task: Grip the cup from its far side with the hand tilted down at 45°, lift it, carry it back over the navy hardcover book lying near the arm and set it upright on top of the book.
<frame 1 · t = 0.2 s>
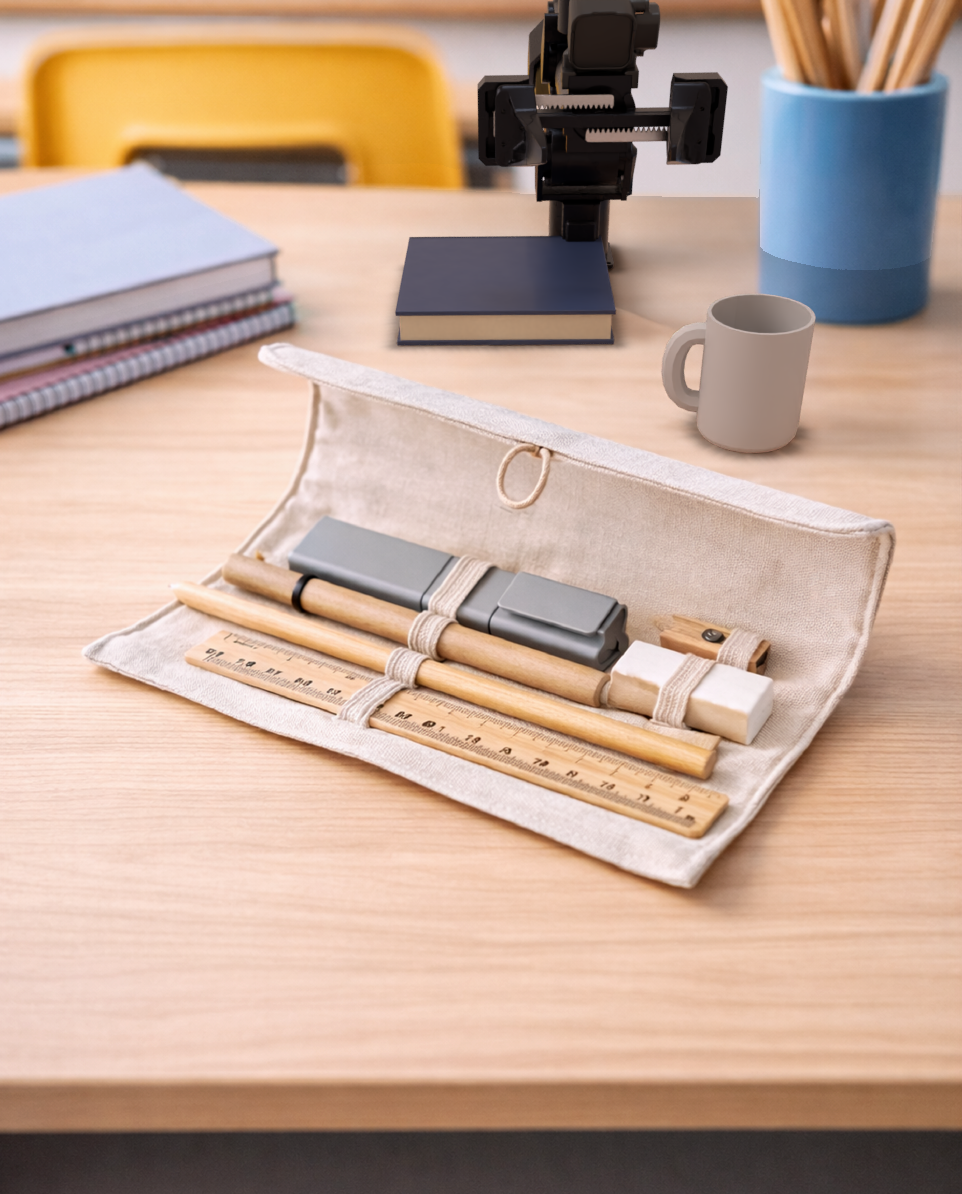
hand: (609, 154, 85), 17 cm above the table, tool horizontal, fingers open, 9 cm apart
cup: (726, 431, 87), on the table
book: (505, 303, 106), on the table
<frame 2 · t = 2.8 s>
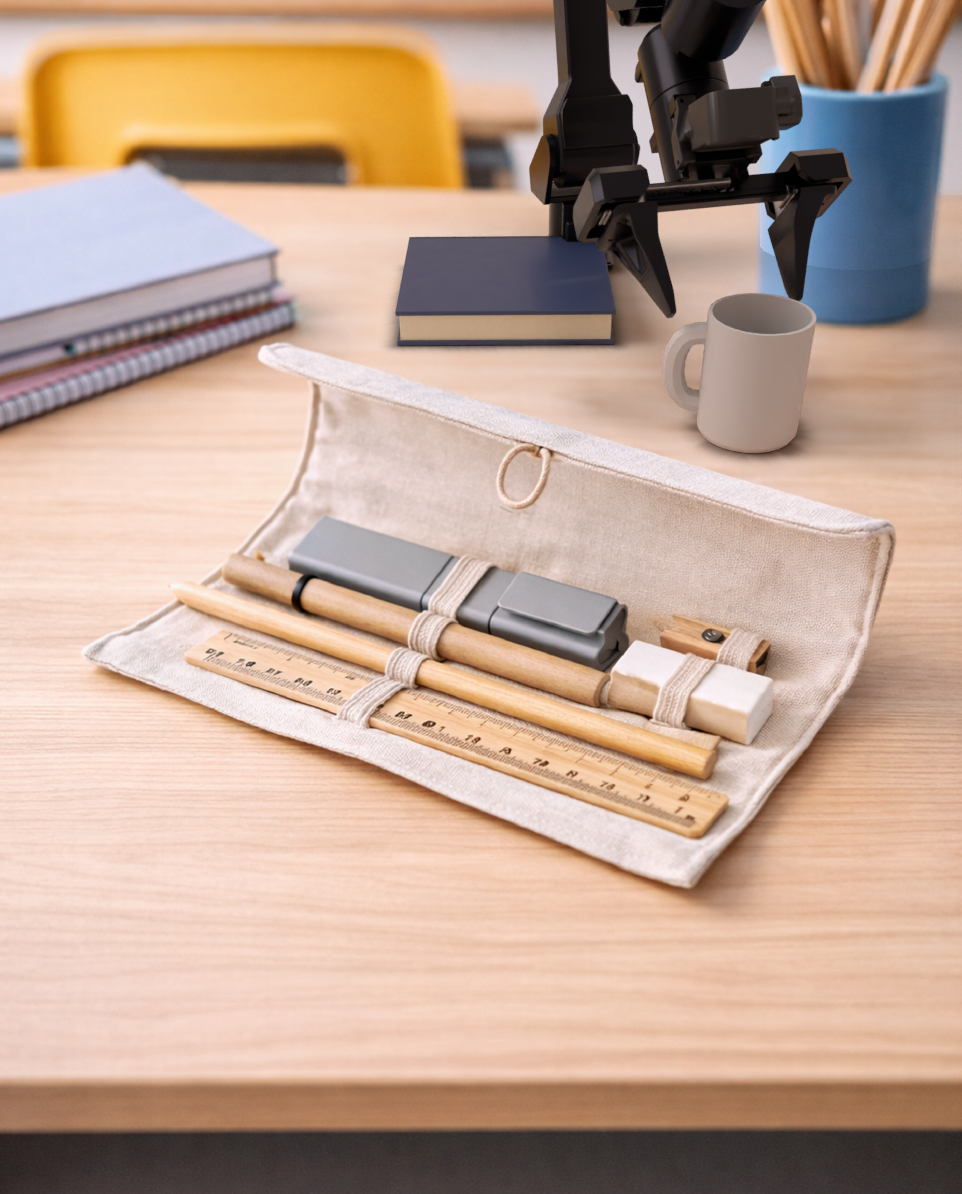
hand: (735, 308, 82), 9 cm above the table, tool tilted 45°, fingers open, 9 cm apart
cup: (726, 431, 87), on the table, touching gripper
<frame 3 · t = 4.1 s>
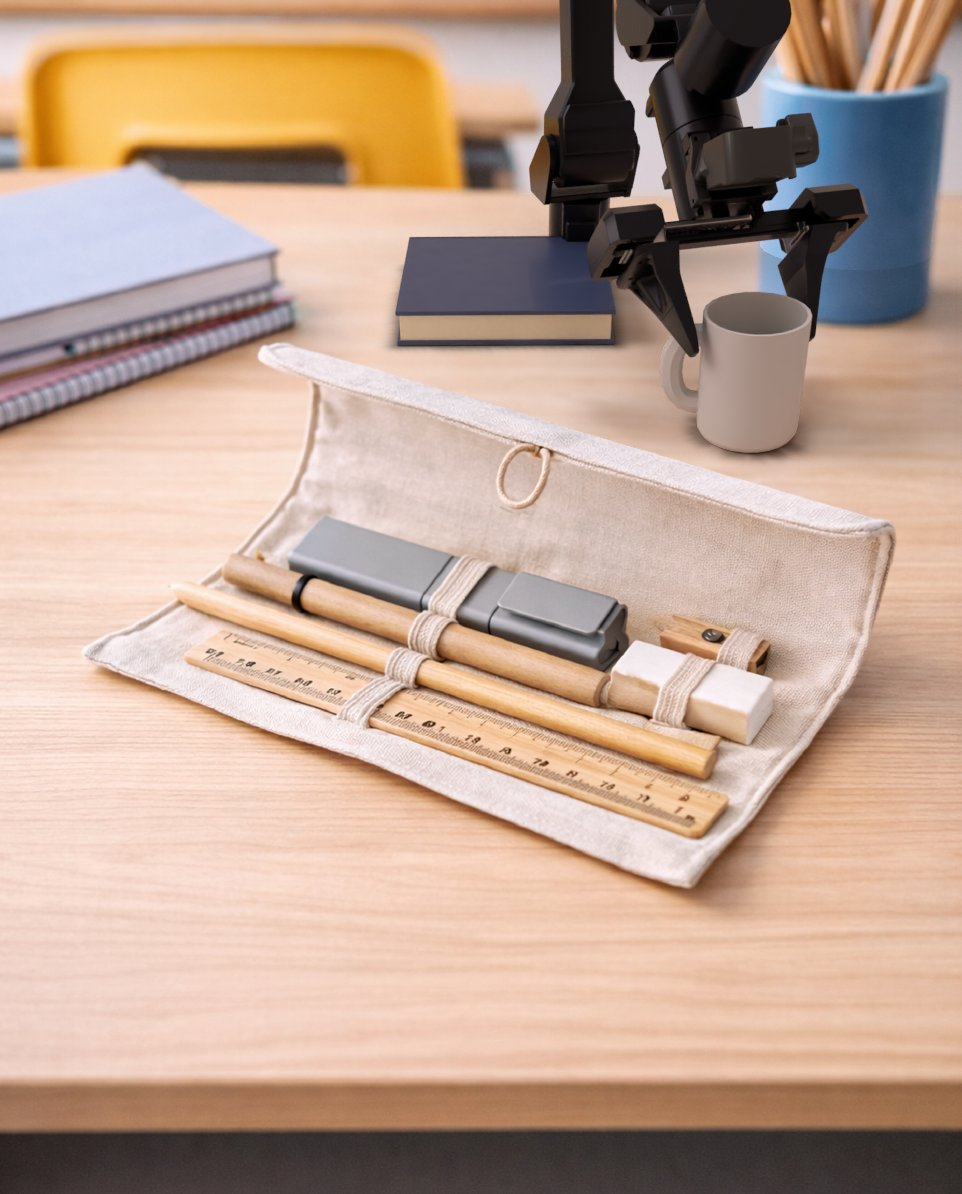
hand: (752, 347, 81), 7 cm above the table, tool tilted 45°, fingers closed on cup, 8 cm apart
cup: (726, 430, 86), on the table, touching gripper
when the fingers open (10 cm above the table, at t = 10.5 s): cup stays where it is, resting on book.
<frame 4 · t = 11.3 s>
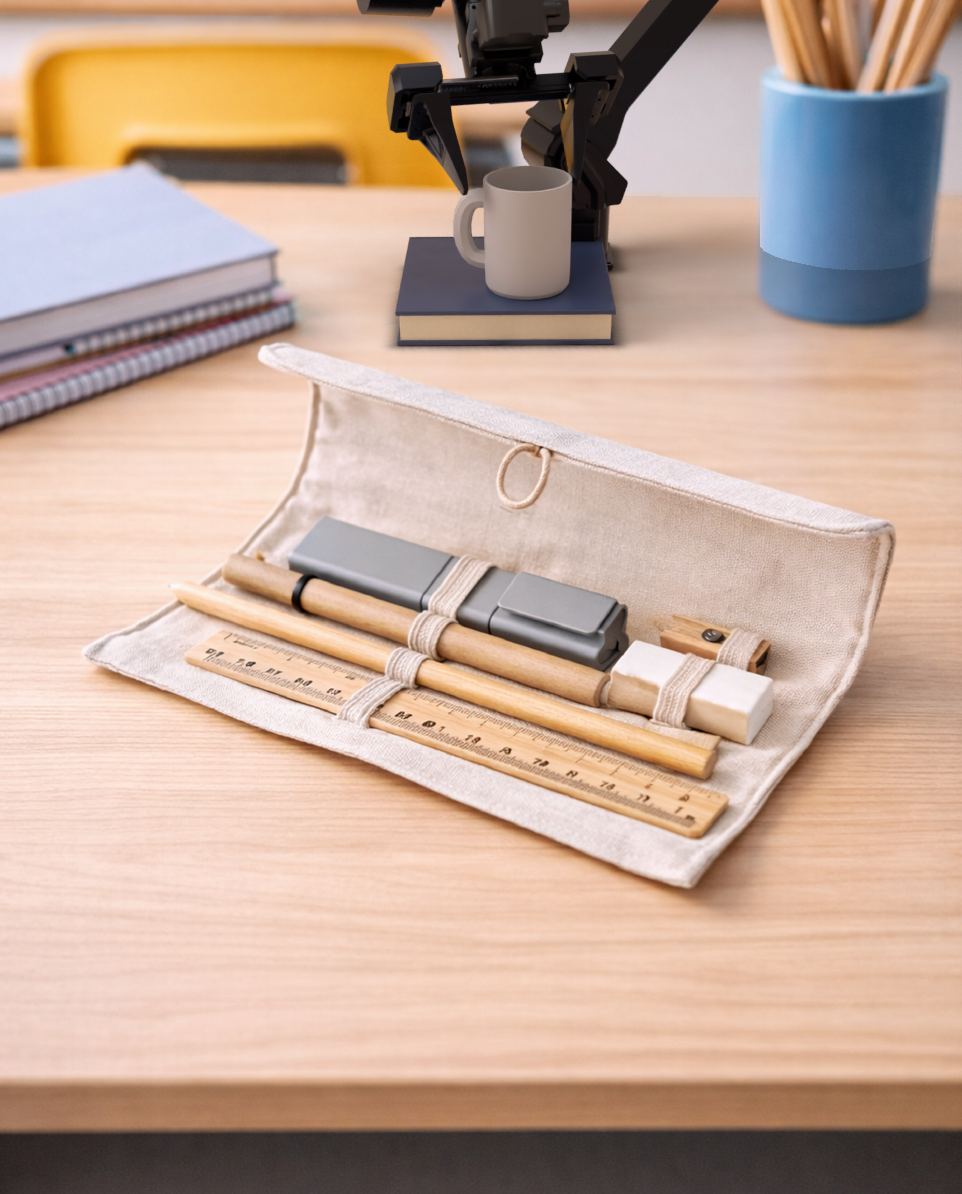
hand: (521, 188, 95), 12 cm above the table, tool tilted 45°, fingers open, 9 cm apart
cup: (511, 286, 102), point 3 cm above the table, touching book, gripper
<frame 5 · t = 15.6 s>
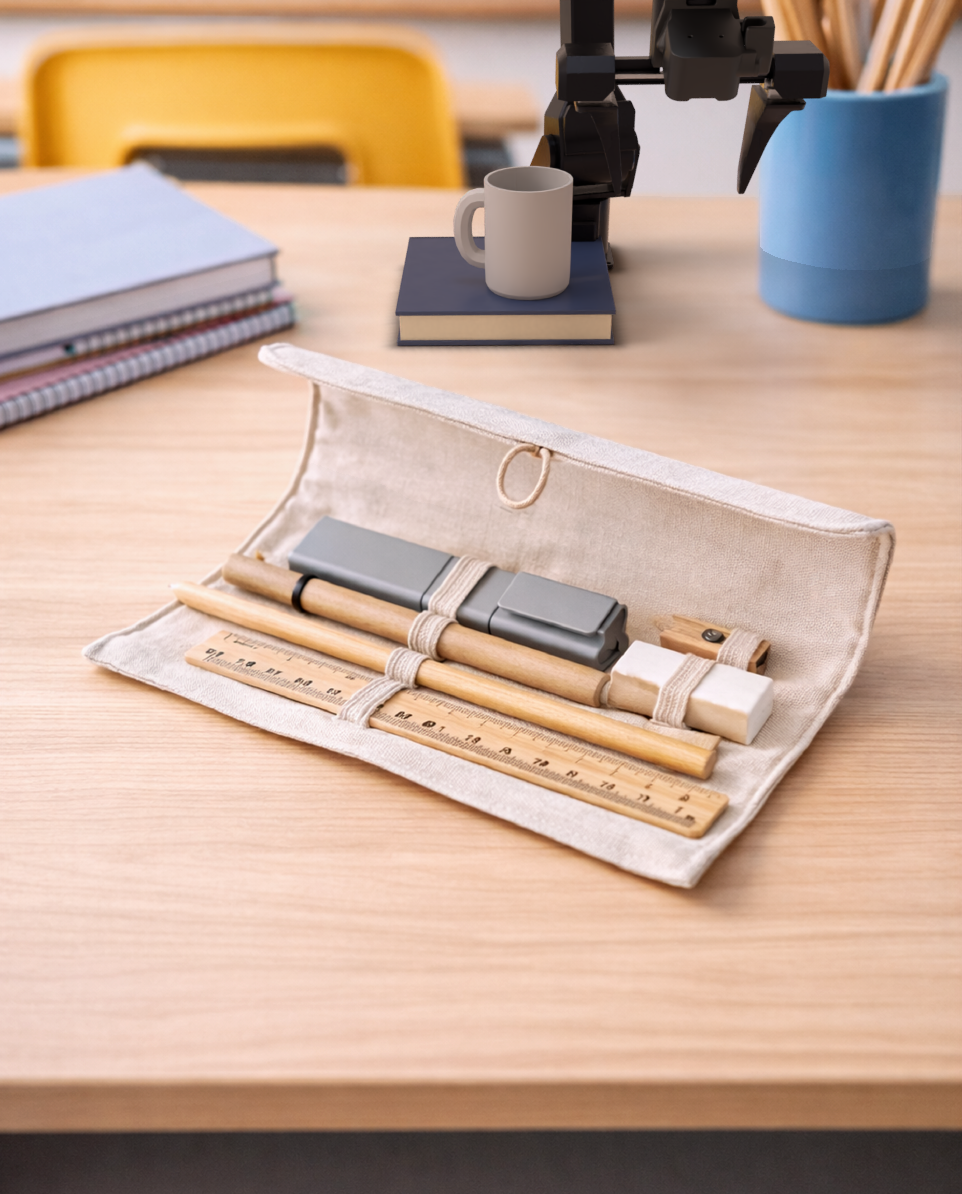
hand: (678, 193, 89), 13 cm above the table, tool pointing down, fingers open, 9 cm apart
cup: (511, 286, 102), point 3 cm above the table, touching book
at the end: cup inside the target area on the book (3.2 cm from its centre), point 2.8 cm above the book's base; cup tilted 0°; the gripper is holding nothing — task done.
